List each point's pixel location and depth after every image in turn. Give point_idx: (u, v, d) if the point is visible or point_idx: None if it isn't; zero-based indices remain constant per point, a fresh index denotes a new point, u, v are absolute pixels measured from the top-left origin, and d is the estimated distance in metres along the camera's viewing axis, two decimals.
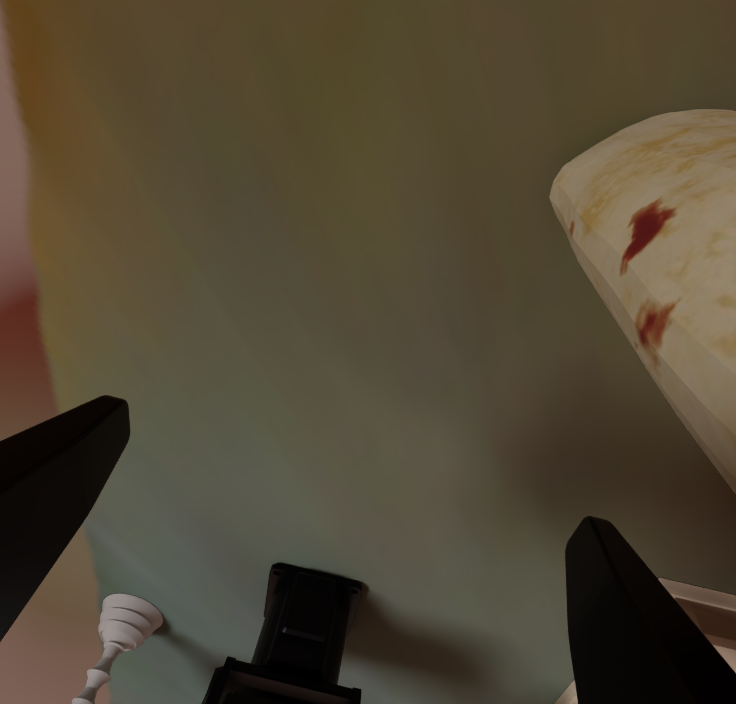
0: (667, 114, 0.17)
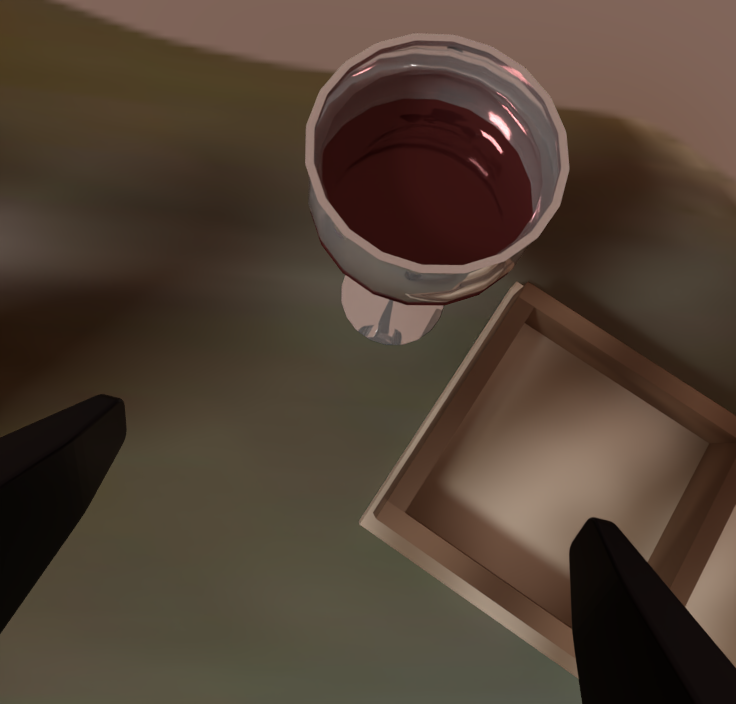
0: None
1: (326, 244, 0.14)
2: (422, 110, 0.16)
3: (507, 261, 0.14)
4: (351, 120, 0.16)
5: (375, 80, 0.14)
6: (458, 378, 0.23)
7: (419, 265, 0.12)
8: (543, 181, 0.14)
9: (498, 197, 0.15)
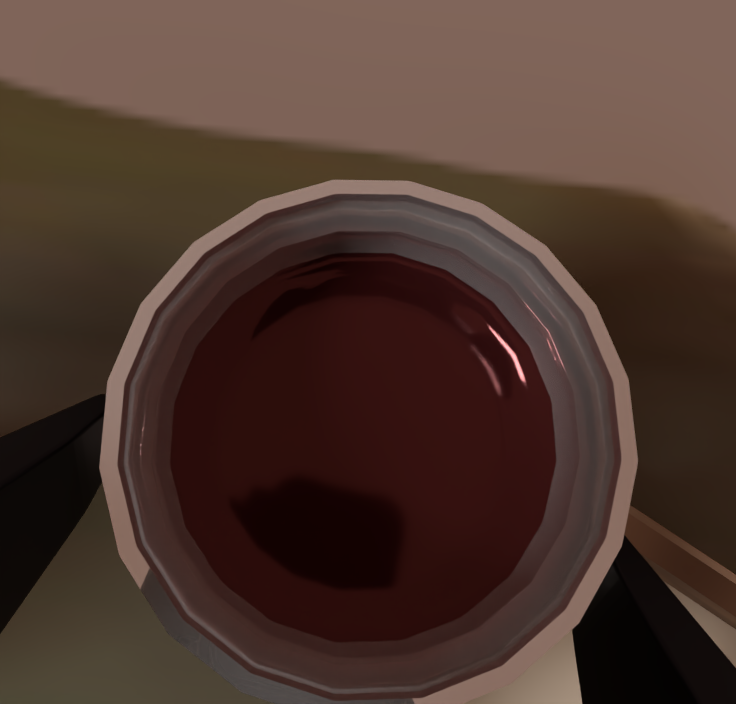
0: None
1: None
2: (367, 273, 0.09)
3: None
4: (246, 293, 0.09)
5: (268, 254, 0.08)
6: None
7: None
8: (581, 454, 0.07)
9: (496, 430, 0.09)
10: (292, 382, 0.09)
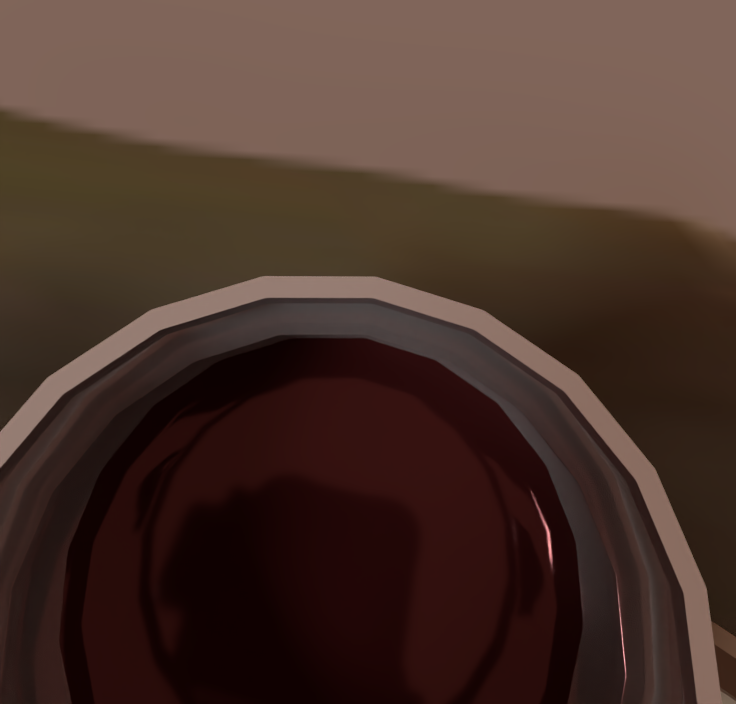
0: None
1: None
2: (331, 366, 0.07)
3: None
4: (171, 394, 0.07)
5: (179, 371, 0.05)
6: None
7: None
8: (629, 675, 0.05)
9: (502, 583, 0.07)
10: (228, 519, 0.07)
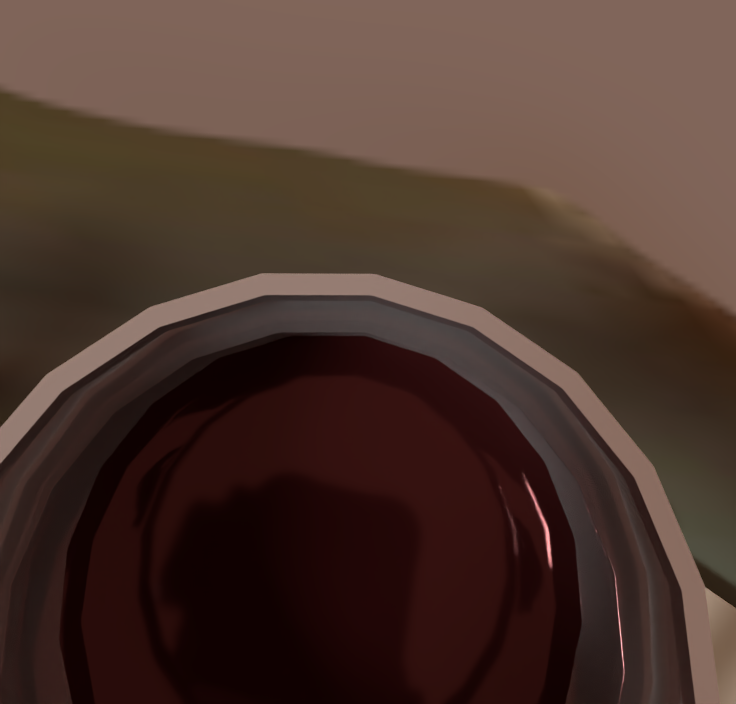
0: None
1: None
2: (331, 363, 0.07)
3: None
4: (169, 393, 0.07)
5: (178, 368, 0.05)
6: None
7: None
8: (627, 672, 0.05)
9: (501, 580, 0.07)
10: (228, 516, 0.07)
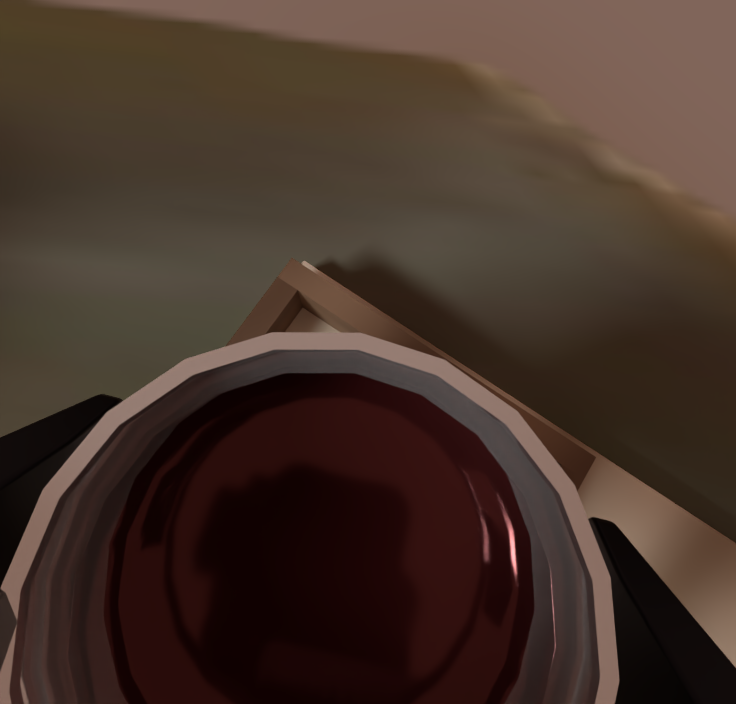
0: None
1: None
2: (328, 390, 0.08)
3: None
4: (193, 414, 0.08)
5: (204, 402, 0.07)
6: None
7: None
8: (557, 644, 0.06)
9: (468, 573, 0.08)
10: (241, 518, 0.08)
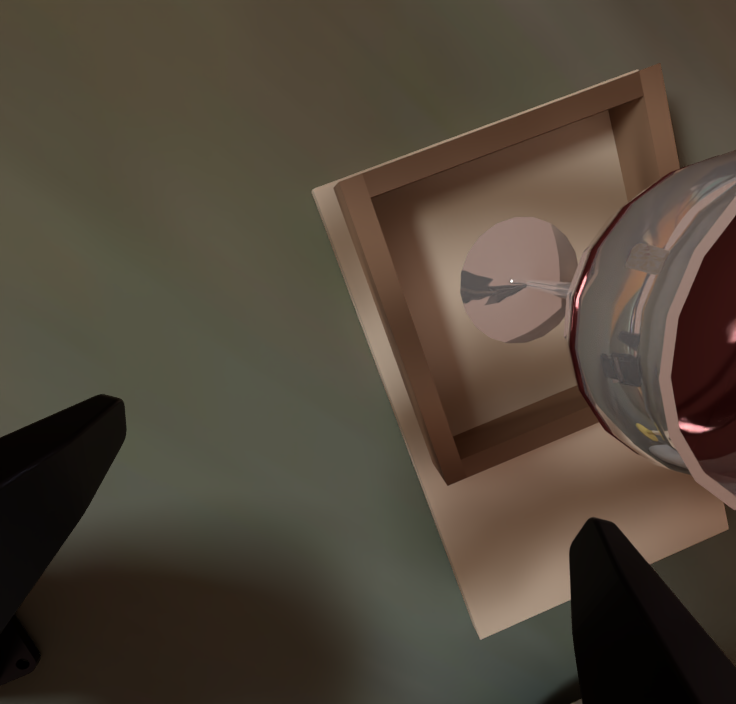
0: None
1: (590, 316, 0.10)
2: None
3: None
4: None
5: None
6: None
7: (701, 472, 0.09)
8: None
9: None
10: None
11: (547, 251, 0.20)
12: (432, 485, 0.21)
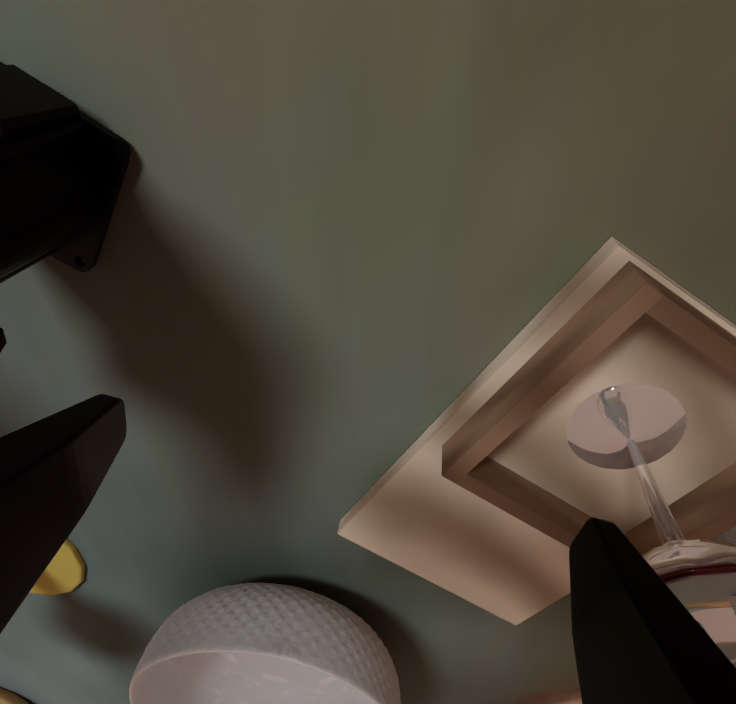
0: None
1: (686, 596, 0.13)
2: None
3: None
4: None
5: None
6: None
7: None
8: None
9: None
10: None
11: (662, 436, 0.22)
12: (425, 453, 0.25)
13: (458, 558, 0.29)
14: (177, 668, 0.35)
